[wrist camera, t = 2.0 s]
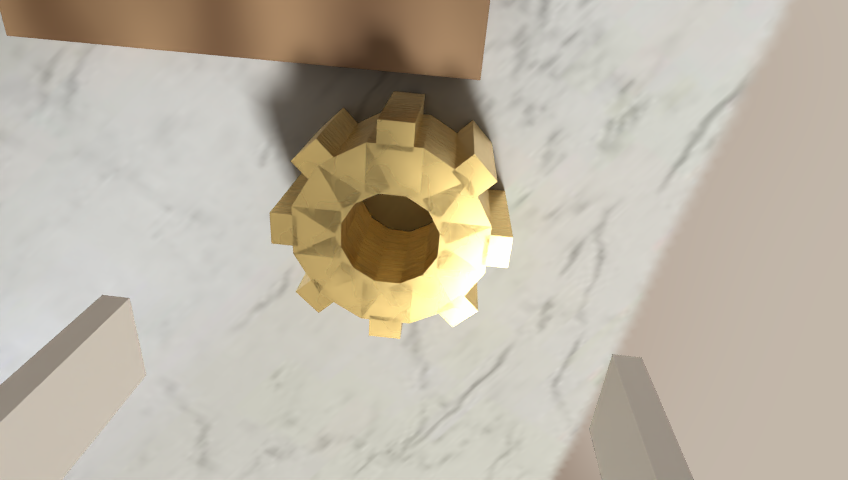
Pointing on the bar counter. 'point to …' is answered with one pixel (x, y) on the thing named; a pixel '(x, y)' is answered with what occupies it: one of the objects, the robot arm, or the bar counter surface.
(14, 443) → the robot arm
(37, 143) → the bar counter surface
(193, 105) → the bar counter surface
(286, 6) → the gear board
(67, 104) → the bar counter surface
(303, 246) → the brass gear
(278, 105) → the bar counter surface
